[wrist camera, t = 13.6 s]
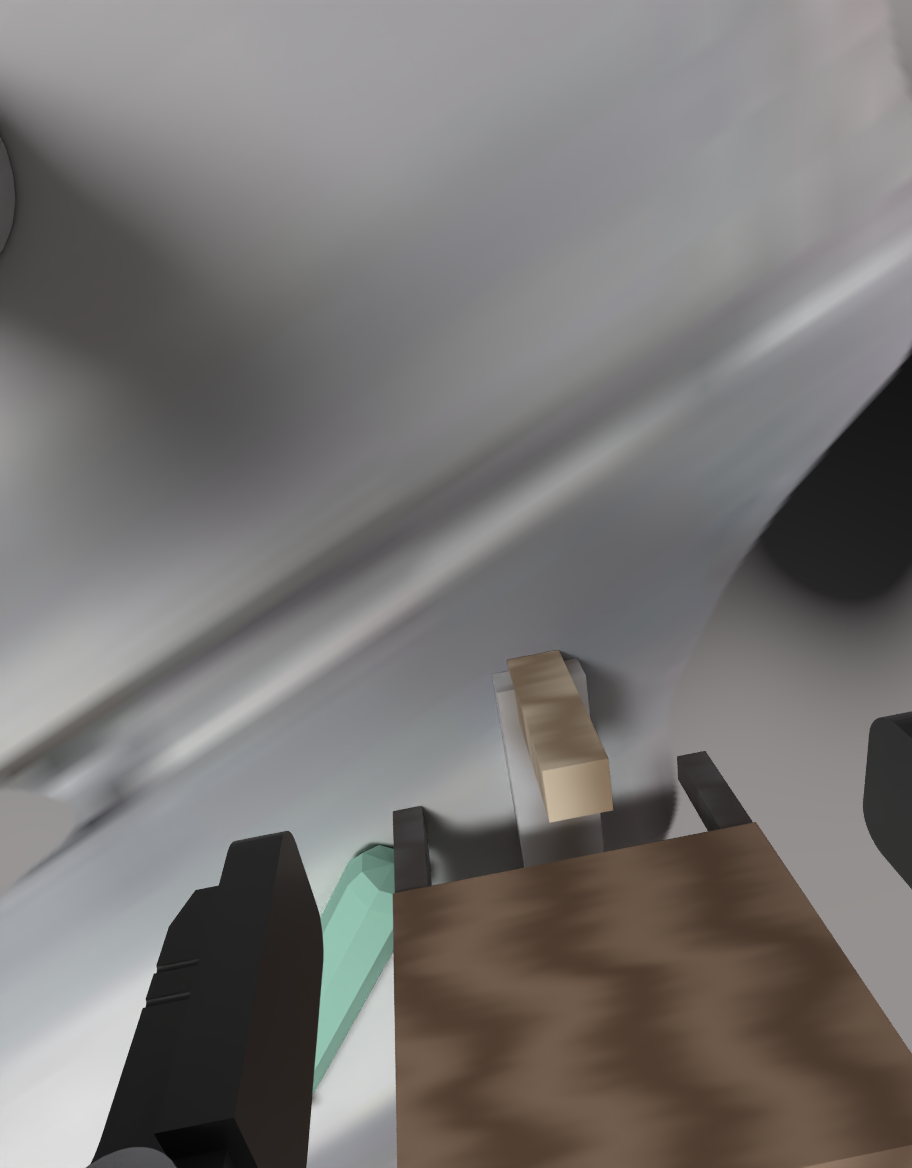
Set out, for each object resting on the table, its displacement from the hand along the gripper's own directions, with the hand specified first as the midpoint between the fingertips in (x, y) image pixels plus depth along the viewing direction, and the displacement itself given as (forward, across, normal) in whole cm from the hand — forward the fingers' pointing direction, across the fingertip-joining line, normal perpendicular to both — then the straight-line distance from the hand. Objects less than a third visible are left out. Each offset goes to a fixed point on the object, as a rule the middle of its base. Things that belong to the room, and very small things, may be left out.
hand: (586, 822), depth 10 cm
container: (+29, +14, +36) cm, 48 cm away
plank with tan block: (+28, -3, +27) cm, 39 cm away
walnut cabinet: (+28, -3, +28) cm, 40 cm away
